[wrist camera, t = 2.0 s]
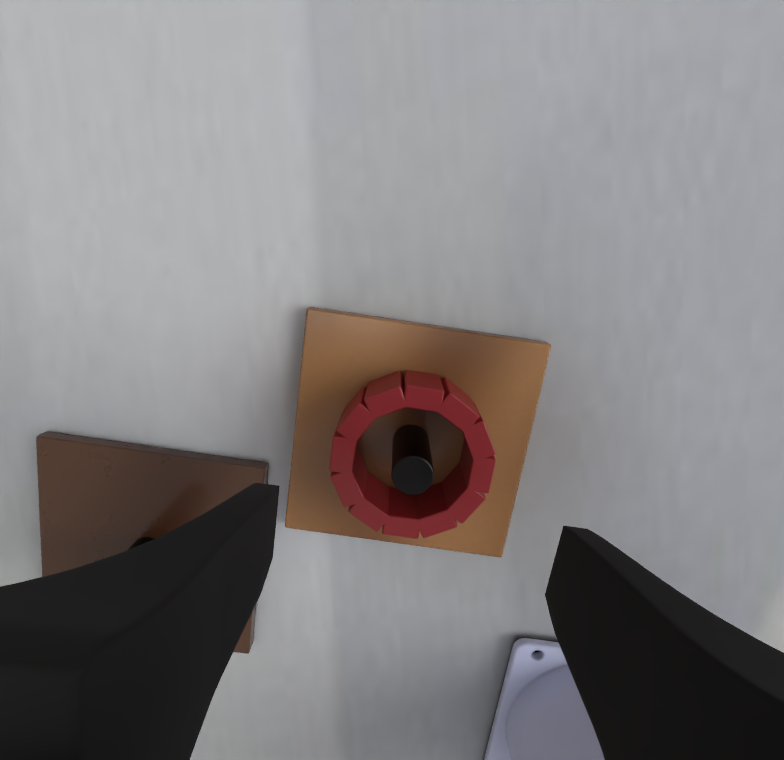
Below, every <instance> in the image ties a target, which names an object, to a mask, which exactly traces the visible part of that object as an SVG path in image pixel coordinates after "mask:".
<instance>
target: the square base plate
mask: <svg viewBox="0 0 784 760" xmlns="http://www.w3.org/2000/svg"><path fill="white" fill-rule="evenodd" d="M36 444H37V466H38V489H39V511H40V533H41V556H42V577H45V576H49V575H52V574H56V573H60V572H63V571H67V570H71V569H74V568H77V567H80V566H83V565H86V564H89V563H92V562H95V561H98V560H101V559H104V558H107V557H110V556H113V555H116V554H119V553H122V552H124V551H127V550H130V549H132V548H134V547H137V546H139V545H142V544H144V543H146V542H149V541H151V540H153V539H156V538H158V537H160V536H162V535H164V534H166V533H168V532H170V531H172V530H174V529H176V528H178V527H180V526H182V525H184V524H185V523H187V522H189V521H191V520H193V519H195V518H197V517H199V516H200V515H202V514H204V513H206V512H207V511H209V510H211V509H212V508H214V507H216V506H217V505H219V504H221V503H222V502H224V501H226V500H227V499H229V498H231V497H232V496H234V495H235V494H237V493H238V492H240V491H242V490H243V489H245V488H247V487H248V486H250V485H252V484H253V483H262V484H267V473H268V463H265V462H258V461H251V460H244V459H237V458H230V457H223V456H215V455H208V454H201V453H194V452H187V451H180V450H173V449H166V448H159V447H152V446H145V445H138V444H131V443H124V442H117V441H110V440H102V439H95V438H88V437H81V436H74V435H67V434H60V433H53V432H45V433H42V434H40V435H38V436H37V437H36ZM255 610H256V605H255V607H254V609H253V611H252V613H251V616H250V618H249V620H248V622H247V624H246V626H245V628H244V630H243V632H242V634H241V637H240V639H239V641H238V643H237V645H236V647H235V649H234V651H233V652H240V653H249V652H250V649H251V646H252V644H253V633H254V621H255Z"/></svg>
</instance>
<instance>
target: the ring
mask: <svg viewBox="0 0 784 760" xmlns="http://www.w3.org/2000/svg"><path fill="white" fill-rule="evenodd" d="M405 407H407V408H414V409H421V410H428V411H434V412H438V413H439V414H440V415H442V416H443V417H444V418H446V419H447V420H448V421H449V422H451V423H452V424H453V425H455V426H456V427H457V428H458V429H460V430H461V431H462V432H463V435H464V442H463V448H462V453H461V458H460V462H459V463H458V464H457V466H456V467H455V468H454V469H453V470H452V471H451V472H450V473H449V474H448V476H447V477H446V478H445V479H444V480H443V481H442V482H440V483H437V484H434V485H432V486H430V487H429V488H428V489H427V490H426V491H424V492H423V493H420V494H416V495H409V494H405V493H403V492H401V491H400V490H398V489H397V488H393V487H389V486H387V485H386V484H385V483H383V482H382V481H381V480H379V479H378V478H376V477H375V476H374V475H372V474H371V473H370V472H368V470H367V468H366V466H365V463H364V461H363V459H362V457H361V454H360V452H359V450H358V440H359V438H360V437H361V436H362V434H363V433H364V432H365V431H366V430H367V428H368V427H369V426H370V425H371V424H372V422H373V421H374V420H375V419H376V418H378V417H381V416H384V415H387V414H389V413H392V412H395V411H397V410H400V409H403V408H405ZM495 454H496V452H495V449H494V447H493V444H492V441H491V439H490V436H489V433H488V430H487V428H486V425H485V422H484V420H483V418H482V416H481V414H480V412H479V410H478V408H477V406H476V404H475V403H474V402H473V401H472V399H471V397H470V396H469V395H467V394H466V393H465V392H463V391H462V390H461V389H460V388H458V387H457V386H456V385H455V384H453V383H452V382H451V381H449V380H448V379H447V378H446V377H444V378H443V379H442V380H441V379H440V376H439V375H437V374H431V373H424V372H417V371H410V370H406V371H405V372H404V378H403V376H402V373H401V372H400V371H397V372H394V373H392V374H389V375H386V376H384V377H381V378H378V379H376V380H373V381H371V382H369V383H368V385H367V388H366V387H362V388H361V389H360V390H359V392H358V393H357V394H356V395H355V397H354V398H353V399H352V400H351V402H350V403H349V404H348V405H347V407H346V408H345V409H344V411H343V413H342V416H341V417H340V420H339V422H338V425H337V428H336V430H335V433H334V436H333V441H332V449H331V457H330V465H329V471H331V475H330V478H331V480H332V482H333V484H334V486H335V488H336V491H337V493H338V495H339V497H340V499H341V501H342V503H343V506H344V507H348V506H349V510H348V512H349V513H350V514H352V515H353V516H355V517H356V518H357V519H359V520H360V521H362V522H363V523H365V524H366V525H367V526H369V527H370V528H372V529H373V530H374V531H376V532H378V531H379V530H380V528H381V527H382V534H384V535H392V536H399V537H406V538H413V539H418V537H419V532H420V533H421V535H422V537H423V538H427V537H430V536H433V535H435V534H438V533H441V532H444V531H447V530H450V529H453V528H456V527H457V522H456V520H457V521H458V522H460V523H461V524H463V523H464V522H465V521H466V520H467V519H468V517H469V516H470V515H471V514H472V513H473V512H474V511H475V510H476V509H477V508H478V507H479V506H480V505H481V504H482V503H483V501H484V500H485V499H486V496H485V494H484V493H489V491H490V486H491V482H492V477H493V473H494V468H495V463H496V459H495V456H494V455H495Z"/></svg>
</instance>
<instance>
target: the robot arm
mask: <svg viewBox="0 0 784 760" xmlns="http://www.w3.org/2000/svg"><path fill="white" fill-rule="evenodd" d="M278 496H279V486H276V485H269V484H262V483H253V484H252V485H250V486H248V487H247V488H245V489H243V490H242V491H240V492H238V493H237V494H235V495H234V496H232V497H231V498H229V499H227V500H226V501H224V502H222V503H221V504H219V505H217V506H216V507H214V508H212V509H211V510H209V511H207V512H206V513H204V514H202V515H200V516H199V517H197V518H195V519H193V520H191V521H189V522H187V523H185V524H184V525H182V526H180V527H178V528H176V529H174V530H172V531H170V532H168V533H166V534H164V535H162V536H160V537H158V538H156V539H153V540H151V541H149V542H146V543H144V544H142V545H139V546H137V547H134V548H132V549H130V550H127V551H124V552H122V553H119V554H116V555H113V556H110V557H107V558H104V559H101V560H98V561H95V562H92V563H89V564H86V565H83V566H80V567H77V568H74V569H71V570H67V571H63V572H60V573H56V574H52V575H49V576H45V577H41V578H37V579H33V580H28V581H24V582H20V583H16V584H11V585H6V586H2V587H0V760H190V757H191V754H192V751H193V749H194V746H195V743H196V740H197V738H198V735H199V732H200V729H201V727H202V724H203V721H204V719H205V716H206V713H207V710H208V708H209V705H210V702H211V700H212V697H213V695H214V692H215V690H216V688H217V685H218V683H219V681H220V678H221V676H222V674H223V672H224V670H225V668H226V666H227V664H228V662H229V660H230V657H231V655H232V653H233V651H234V649H235V647H236V645H237V643H238V641H239V639H240V637H241V634H242V632H243V630H244V628H245V626H246V624H247V622H248V620H249V618H250V616H251V613H252V611H253V609H254V607H255V605H256V603H257V601H258V598H259V596H260V594H261V591H262V588H263V585H264V582H265V580H266V577H267V573H268V570H269V567H270V564H271V561H272V558H273V549H274V538H275V528H276V517H277V507H278ZM545 596H546V600H547V604H548V609H549V613H550V617H551V620H552V624H553V628H554V631H555V634H556V637H557V640H558V642H552V641H545V640H537V639H530V638H521V639H518V640H517V641H516V642H515V643H514V645H513V648H512V652H511V656H510V659H509V663H508V667H507V671H506V675H505V679H504V683H503V687H502V691H501V695H500V699H499V703H498V706H497V710H496V714H495V718H494V722H493V726H492V730H491V734H490V738H489V742H488V746H487V750H486V753H485V757H484V760H784V653H783V652H781V651H779V650H777V649H775V648H773V647H771V646H769V645H767V644H765V643H763V642H761V641H760V640H758V639H756V638H754V637H752V636H751V635H749V634H747V633H745V632H744V631H742V630H740V629H738V628H737V627H735V626H733V625H731V624H730V623H728V622H726V621H724V620H723V619H721V618H719V617H718V616H716V615H714V614H713V613H711V612H709V611H708V610H706V609H705V608H703V607H701V606H700V605H698V604H697V603H695V602H694V601H692V600H691V599H689V598H688V597H686V596H685V595H683V594H682V593H680V592H679V591H677V590H676V589H674V588H673V587H671V586H670V585H668V584H667V583H665V582H664V581H662V580H661V579H660V578H658V577H657V576H655V575H654V574H652V573H651V572H650V571H648V570H647V569H645V568H644V567H643V566H641V565H640V564H638V563H637V562H636V561H634V560H633V559H632V558H630V557H629V556H627V555H626V554H625V553H623V552H622V551H620V550H619V549H618V548H616V547H615V546H613V545H612V544H610V543H609V542H608V541H606V540H605V539H603V538H602V537H600V536H599V535H597V534H595V533H594V532H592V531H590V530H588V529H584V528H577V527H569V526H563V530H562V533H561V537H560V541H559V545H558V548H557V552H556V556H555V559H554V563H553V567H552V571H551V574H550V578H549V582H548V586H547V589H546V593H545ZM535 650H540V651H539V652H537V653H533V652H534V651H535Z"/></svg>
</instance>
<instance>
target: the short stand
mask: <svg viewBox="0 0 784 760" xmlns="http://www.w3.org/2000/svg"><path fill="white" fill-rule="evenodd" d="M550 348H551V345H550V344H548V343H547V342H543V341H536V340H529V339H523V338H516V337H509V336H502V335H496V334H489V333H482V332H476V331H469V330H462V329H455V328H449V327H442V326H435V325H429V324H422V323H415V322H408V321H402V320H395V319H388V318H382V317H375V316H368V315H361V314H355V313H348V312H341V311H335V310H328V309H321V308H314V307H310V308H308V309H307V313H306V323H305V333H304V343H303V353H302V363H301V373H300V383H299V392H298V402H297V412H296V422H295V432H294V442H293V452H292V462H291V471H290V481H289V491H288V501H287V511H286V521H285V527H286V528H294V529H301V530H308V531H315V532H322V533H330V534H337V535H344V536H351V537H358V538H366V539H373V540H380V541H387V542H394V543H402V544H409V545H416V546H423V547H430V548H438V549H445V550H452V551H459V552H466V553H474V554H481V555H488V556H495V557H501V556H502V553H503V549H504V544H505V540H506V536H507V532H508V527H509V523H510V519H511V515H512V510H513V506H514V502H515V498H516V493H517V489H518V485H519V480H520V476H521V472H522V468H523V463H524V459H525V455H526V451H527V446H528V442H529V438H530V434H531V429H532V425H533V421H534V417H535V412H536V408H537V404H538V399H539V395H540V391H541V387H542V382H543V378H544V374H545V370H546V365H547V361H548V357H549V353H550ZM406 370H410V371H417V372H424V373H431V374H437V375H439V376H440V379H441V380H442V379H443V378H444V377H446V378H447V379H448V380H449V381H451V382H452V383H453V384H455V385H456V386H457V387H458V388H460V389H461V390H462V391H463V392H465V393H466V394H467V395H469V396H470V397H471V399H472V401H473V402H474V403H475V404H476V406H477V408H478V410H479V412H480V414H481V416H482V418H483V420H484V422H485V425H486V428H487V430H488V433H489V436H490V439H491V441H492V444H493V447H494V449H495V452H496V454H495V455H494V456H495V459H496V463H495V468H494V473H493V477H492V482H491V486H490V491H489V493H484V494H485V496H486V499H485V500H484V501H483V503H482V504H481V505H480V506H479V507H478V508H477V509H476V510H475V511H474V512H473V513H472V514H471V515H470V516H469V517H468V519H467V520H466V521H465V522H464V523H463V524H461V523H460V522H458V521H457V520H456V522H457V527H456V528H453V529H450V530H447V531H444V532H441V533H438V534H435V535H433V536H430V537H427V538H423V537H422V535H421V533H420V532H419V537H418V539H413V538H406V537H399V536H392V535H384V534H382V527H381V528H380V530H379V531H378V532H376V531H374V530H373V529H372V528H370V527H369V526H367V525H366V524H365V523H363V522H362V521H360V520H359V519H357V518H356V517H355V516H353V515H352V514H350V513H349V512H348V510H349V506H348V507H344V506H343V503H342V501H341V499H340V497H339V495H338V493H337V491H336V488H335V486H334V484H333V482H332V480H331V478H330V475H331V471H329V465H330V457H331V449H332V441H333V436H334V433H335V430H336V428H337V425H338V422H339V420H340V417H341V416H342V413H343V411H344V409H345V408H346V407H347V405H348V404H349V403H350V402H351V400H352V399H353V398H354V397H355V395H356V394H357V393H358V392H359V390H360V389H361V388H362V387H366V388H367V385H368V383H369V382H371V381H373V380H376V379H378V378H381V377H384V376H386V375H389V374H392V373H394V372H397V371H400V372H401V373H402V376H403V378H404V372H405V371H406ZM463 442H464V435H463V432H462V431H461V430H460V429H458V428H457V427H456V426H455V425H453V424H452V423H451V422H449V421H448V420H447V419H446V418H444V417H443V416H442V415H440V414H439V413H438V412H434V411H428V410H421V409H414V408H407V407H405V408H403V409H400V410H397V411H395V412H392V413H389V414H387V415H384V416H381V417H378V418H376V419H375V420H374V421H373V422H372V424H371V425H370V426H369V427H368V428H367V430H366V431H365V432H364V433H363V434H362V436H361V437H360V438H359V440H358V450H359V452H360V454H361V457H362V459H363V461H364V463H365V466H366V468H367V470H368V472H370V473H371V474H372V475H374V476H375V477H376V478H378V479H379V480H381V481H382V482H383V483H385V484H386V485H387V486H389V487H393V488H397V489H398V490H400V491H401V492H403V493H405V494H409V495H416V494H420V493H423V492H424V491H426V490H427V489H428V488H429V487H430V486H432V485H434V484H437V483H440V482H442V481H443V480H444V479H445V478H446V477H447V476H448V474H449V473H450V472H451V471H452V470H453V469H454V468H455V467H456V466H457V464H458V463H459V462H460V458H461V453H462V448H463Z"/></svg>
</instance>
